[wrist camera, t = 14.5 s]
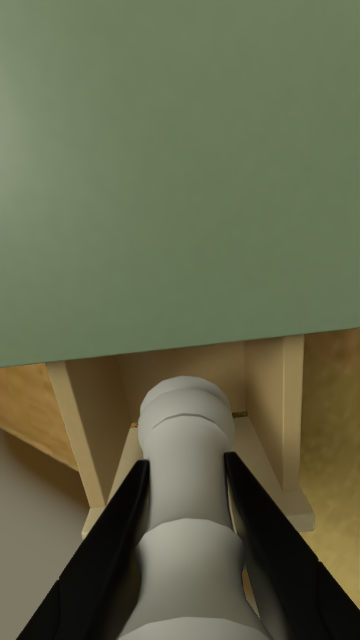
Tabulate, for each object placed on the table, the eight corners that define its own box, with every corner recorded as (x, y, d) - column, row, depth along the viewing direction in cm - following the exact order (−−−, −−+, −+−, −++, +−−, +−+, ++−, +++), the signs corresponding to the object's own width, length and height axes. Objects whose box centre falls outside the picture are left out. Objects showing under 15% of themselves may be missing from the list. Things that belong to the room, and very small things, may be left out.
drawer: (263, 476, 18) (310, 596, 12) (132, 488, 19) (107, 611, 12) (258, 251, 13) (334, 239, 7) (82, 273, 14) (-7, 281, 7)
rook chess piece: (191, 459, 11) (215, 863, 4) (123, 416, 11) (-21, 808, 3) (248, 403, 11) (433, 789, 3) (178, 352, 10) (168, 684, 2)
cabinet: (263, 292, 15) (367, 328, 7) (89, 312, 15) (-18, 370, 7) (259, 18, 11) (488, -689, 3) (28, 55, 12) (-356, -474, 3)
